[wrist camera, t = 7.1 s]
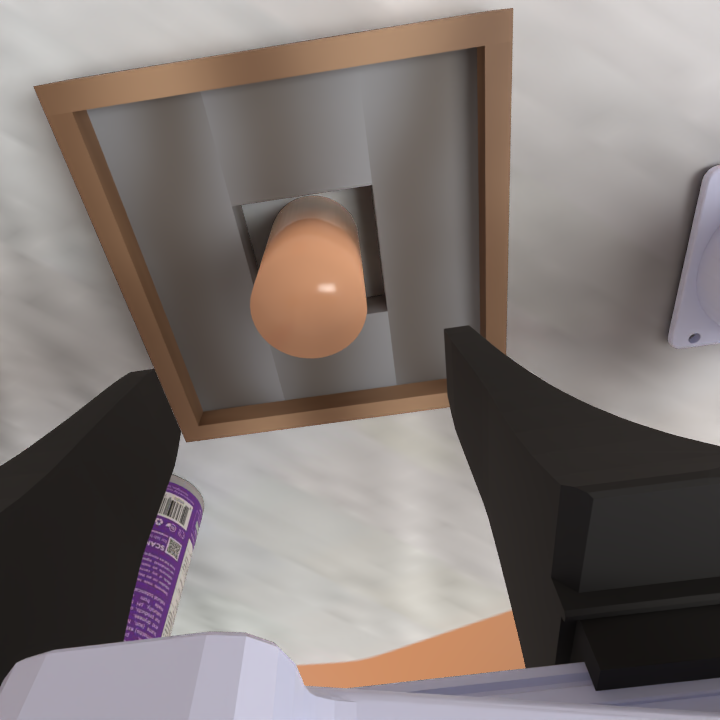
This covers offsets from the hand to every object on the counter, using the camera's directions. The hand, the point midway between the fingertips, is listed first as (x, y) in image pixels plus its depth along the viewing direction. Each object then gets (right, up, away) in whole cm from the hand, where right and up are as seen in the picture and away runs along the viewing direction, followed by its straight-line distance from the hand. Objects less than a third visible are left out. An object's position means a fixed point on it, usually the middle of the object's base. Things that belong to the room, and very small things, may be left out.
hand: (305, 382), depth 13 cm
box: (0, +5, +8) cm, 9 cm away
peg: (0, +5, +8) cm, 9 cm away
